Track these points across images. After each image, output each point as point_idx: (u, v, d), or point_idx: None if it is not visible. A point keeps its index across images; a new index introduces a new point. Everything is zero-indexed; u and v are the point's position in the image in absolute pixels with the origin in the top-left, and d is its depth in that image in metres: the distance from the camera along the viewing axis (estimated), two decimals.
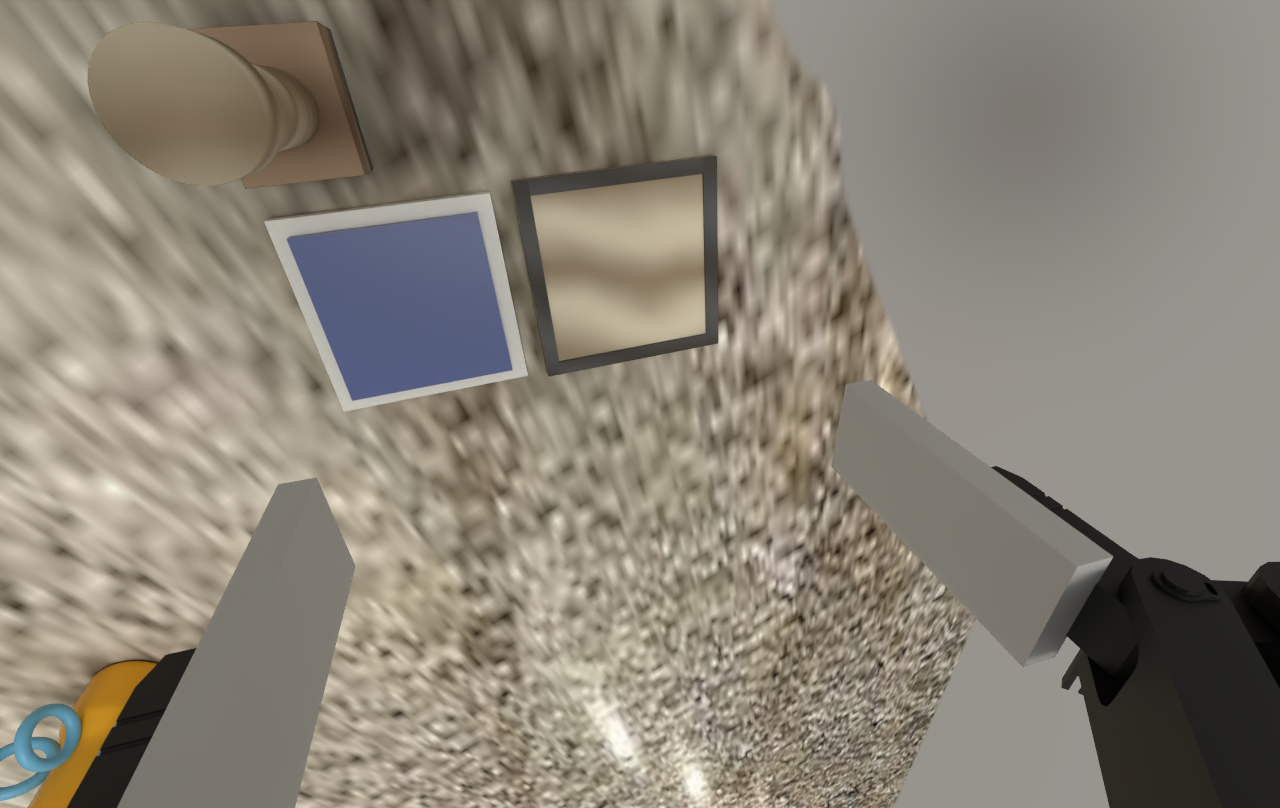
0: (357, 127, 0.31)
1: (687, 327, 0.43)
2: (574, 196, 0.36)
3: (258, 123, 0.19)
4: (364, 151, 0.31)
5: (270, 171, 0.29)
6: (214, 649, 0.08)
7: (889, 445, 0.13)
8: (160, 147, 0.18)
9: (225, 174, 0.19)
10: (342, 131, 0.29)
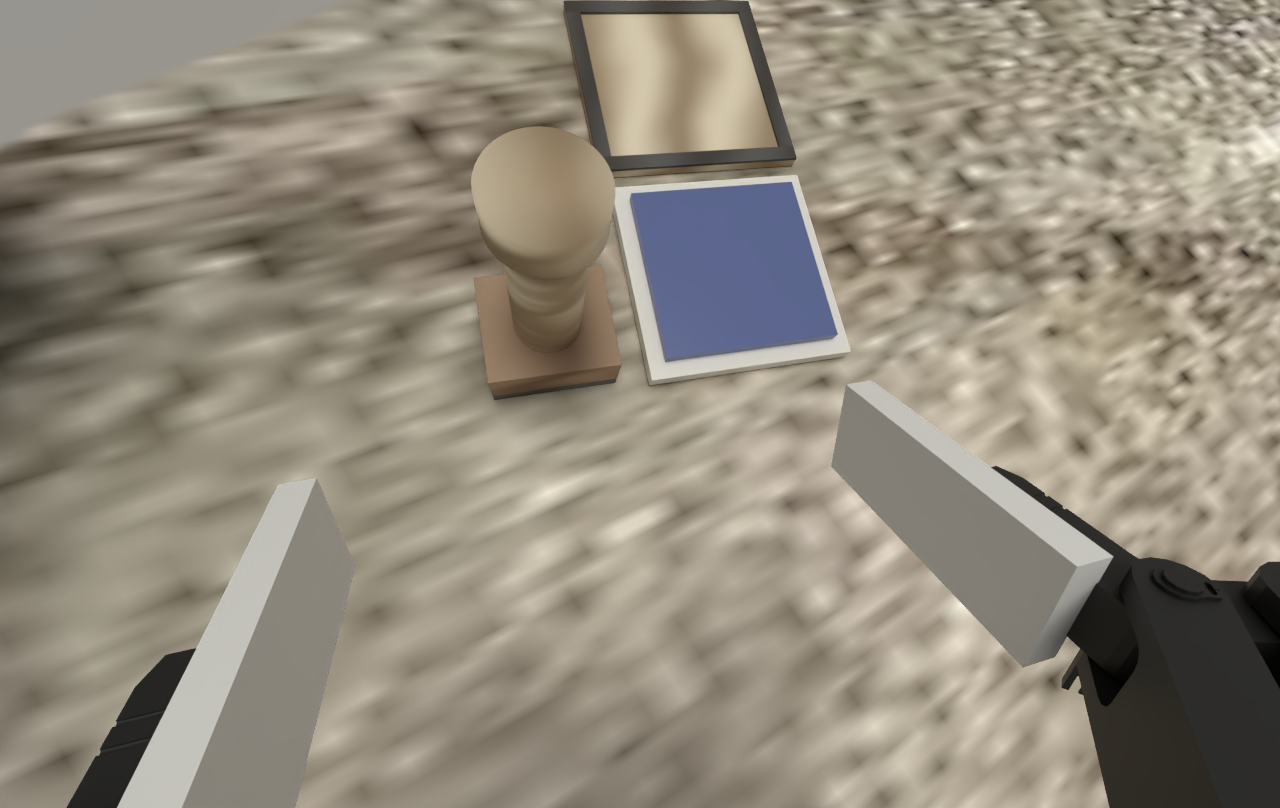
0: None
1: (733, 30, 0.40)
2: (609, 121, 0.36)
3: (553, 132, 0.19)
4: None
5: (603, 340, 0.29)
6: (214, 649, 0.08)
7: (890, 444, 0.13)
8: (581, 212, 0.18)
9: (603, 170, 0.19)
10: None
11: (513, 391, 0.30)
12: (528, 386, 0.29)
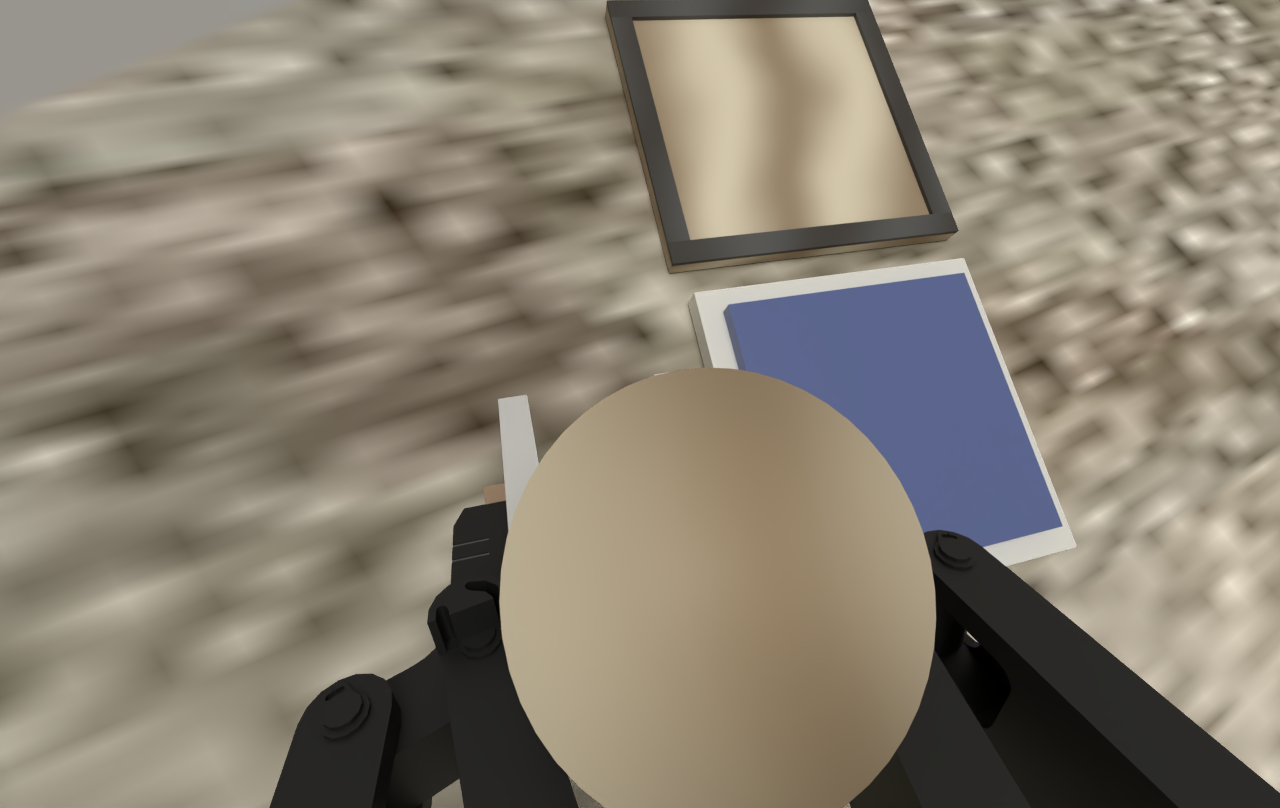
0: None
1: (849, 40, 0.27)
2: (682, 183, 0.24)
3: (735, 384, 0.06)
4: None
5: None
6: (519, 494, 0.11)
7: None
8: (849, 666, 0.06)
9: (887, 499, 0.06)
10: None
11: None
12: None
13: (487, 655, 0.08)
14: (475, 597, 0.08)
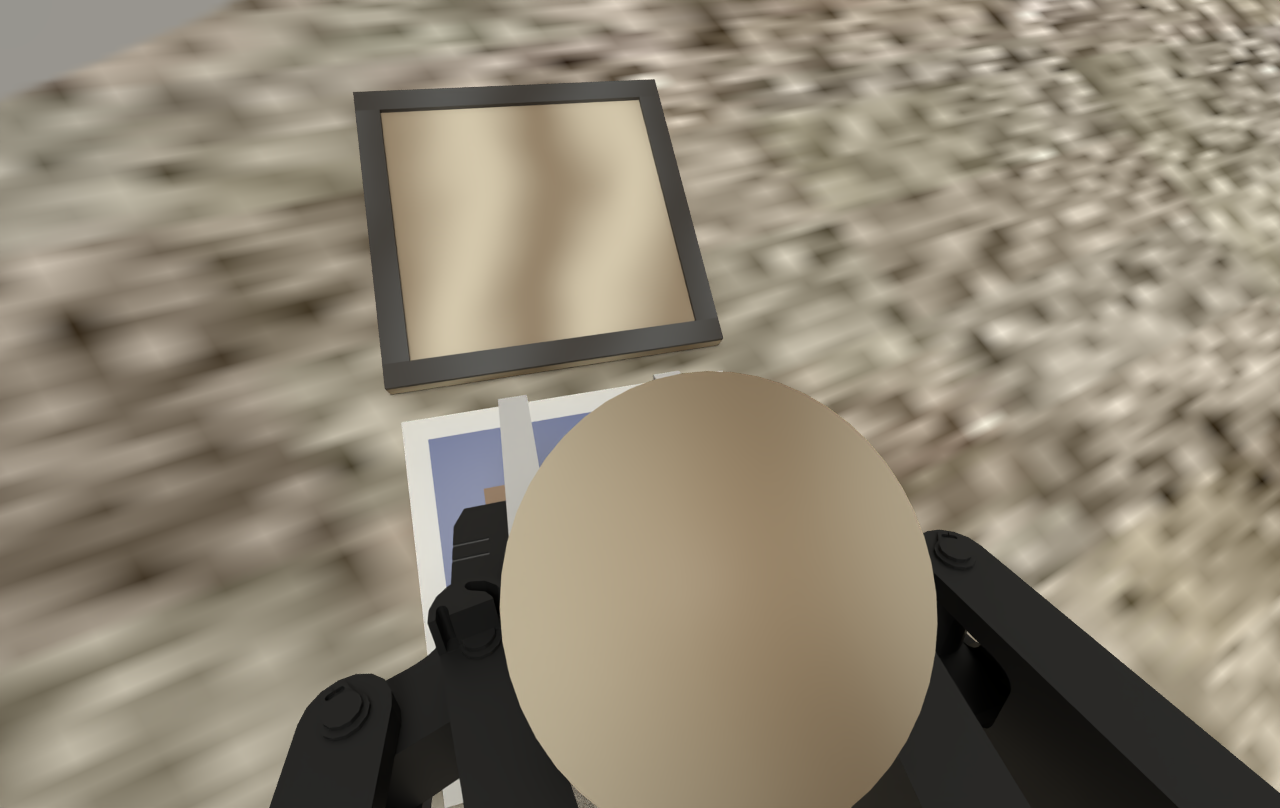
0: None
1: (630, 126, 0.26)
2: (412, 295, 0.22)
3: (735, 388, 0.06)
4: None
5: None
6: (519, 494, 0.11)
7: None
8: (850, 670, 0.06)
9: (888, 502, 0.06)
10: None
11: None
12: None
13: (487, 655, 0.08)
14: (475, 597, 0.08)
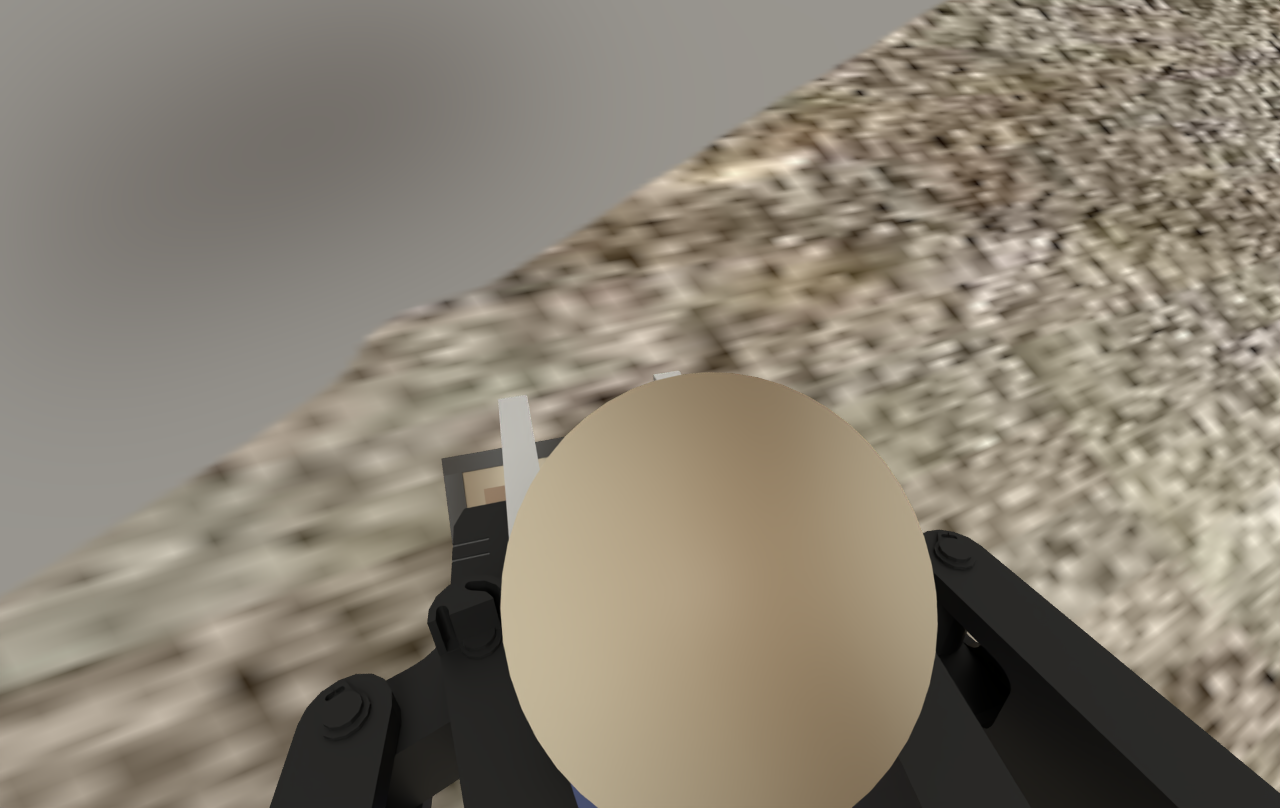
0: None
1: None
2: None
3: (736, 389, 0.06)
4: None
5: None
6: (519, 494, 0.11)
7: None
8: (850, 670, 0.06)
9: (888, 503, 0.06)
10: None
11: None
12: None
13: (487, 655, 0.08)
14: (475, 597, 0.08)
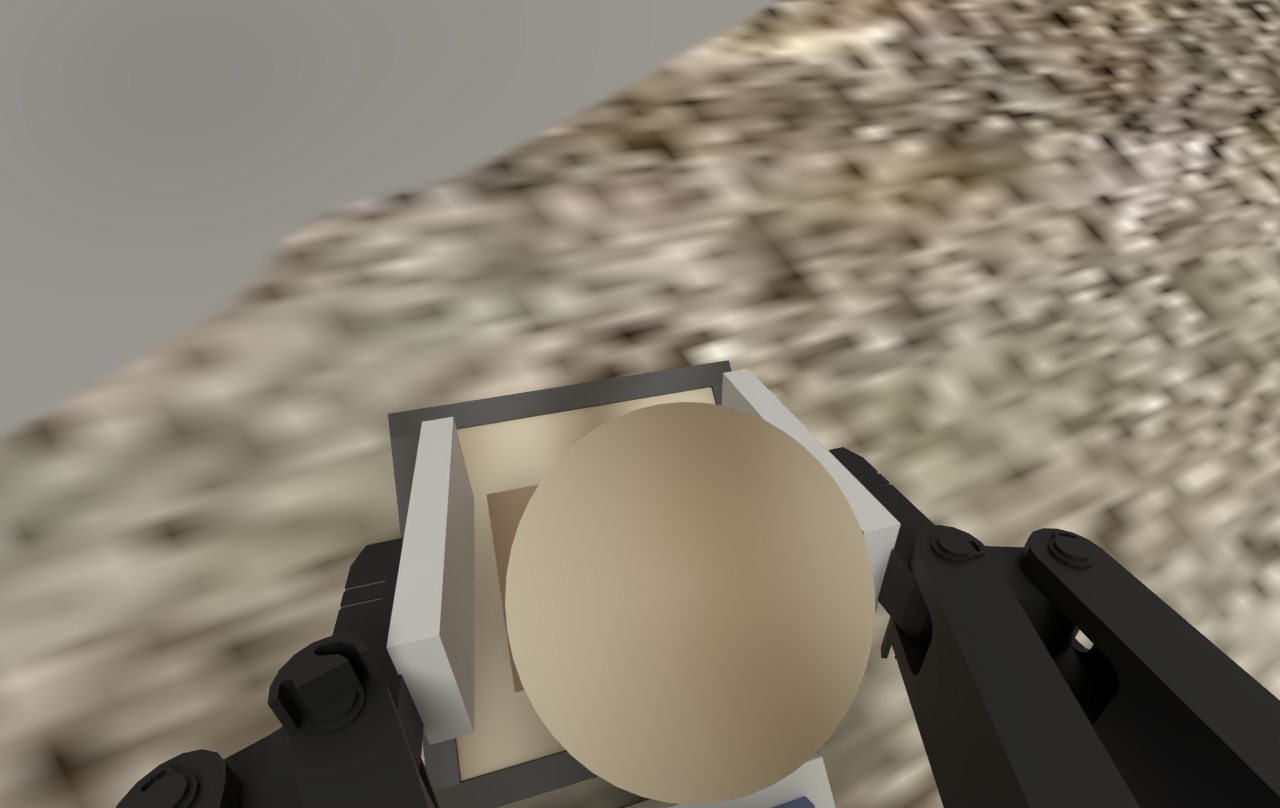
0: None
1: None
2: None
3: (705, 416, 0.07)
4: None
5: None
6: (419, 533, 0.10)
7: None
8: (799, 656, 0.07)
9: (835, 514, 0.07)
10: None
11: None
12: None
13: (347, 724, 0.07)
14: (327, 663, 0.07)
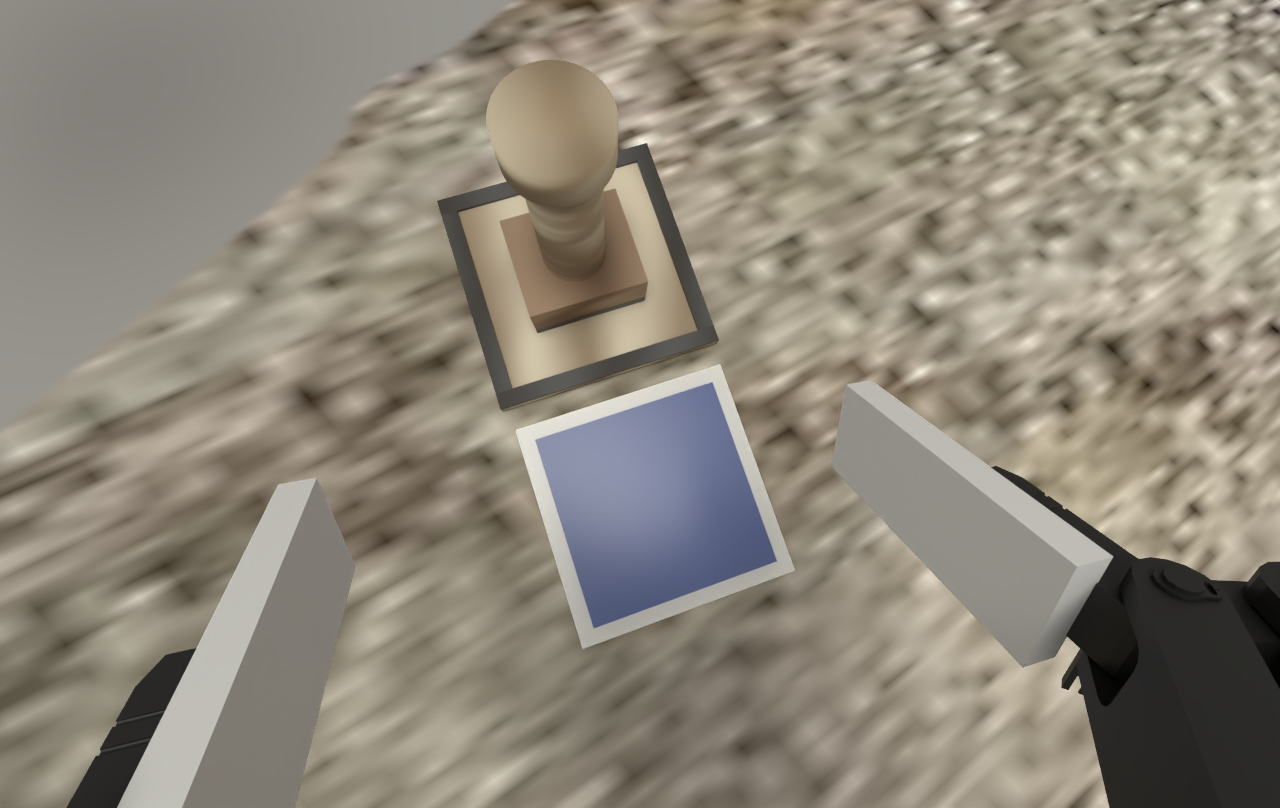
0: None
1: (633, 186, 0.35)
2: (505, 342, 0.33)
3: (551, 64, 0.20)
4: None
5: (628, 261, 0.31)
6: (214, 649, 0.08)
7: (890, 445, 0.13)
8: (589, 137, 0.20)
9: (603, 93, 0.20)
10: None
11: (553, 322, 0.32)
12: (566, 315, 0.32)
13: None
14: None
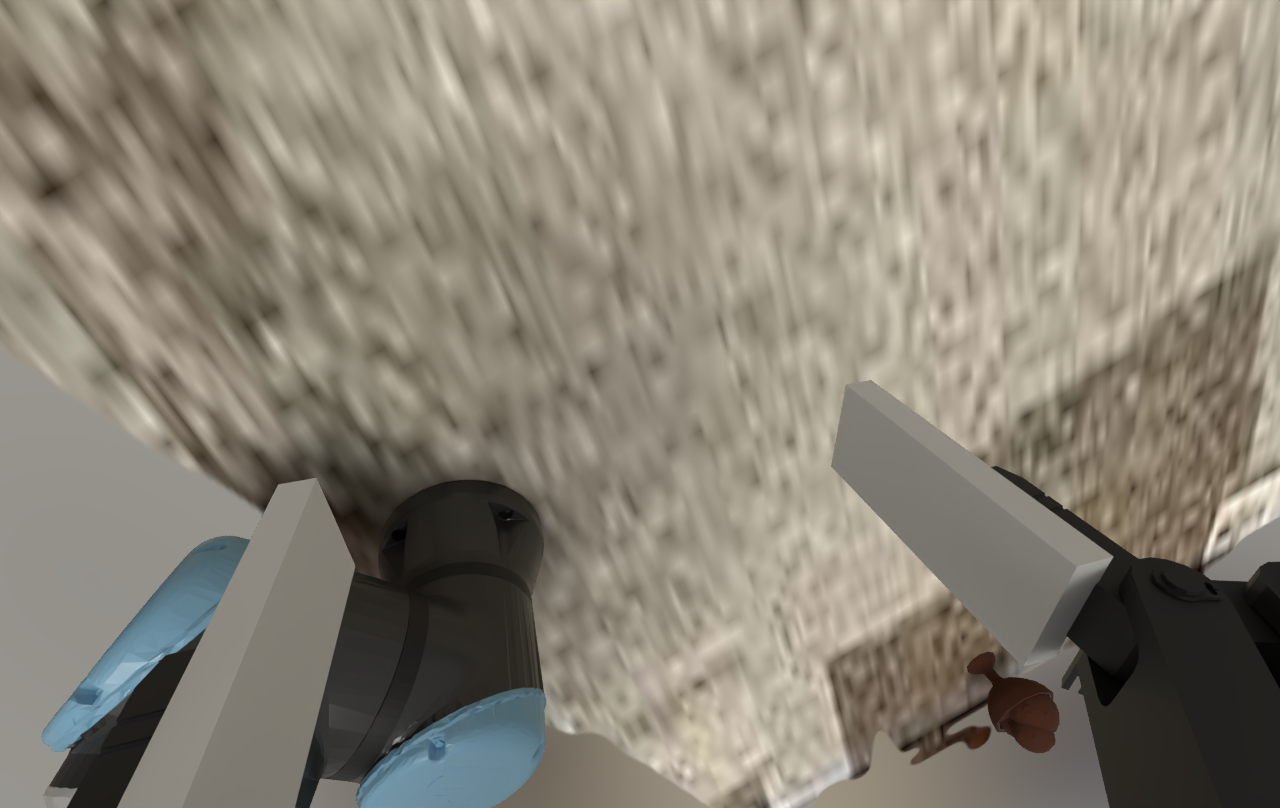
0: None
1: None
2: None
3: None
4: None
5: None
6: (214, 649, 0.08)
7: (889, 445, 0.13)
8: None
9: None
10: None
11: None
12: None
13: None
14: None
